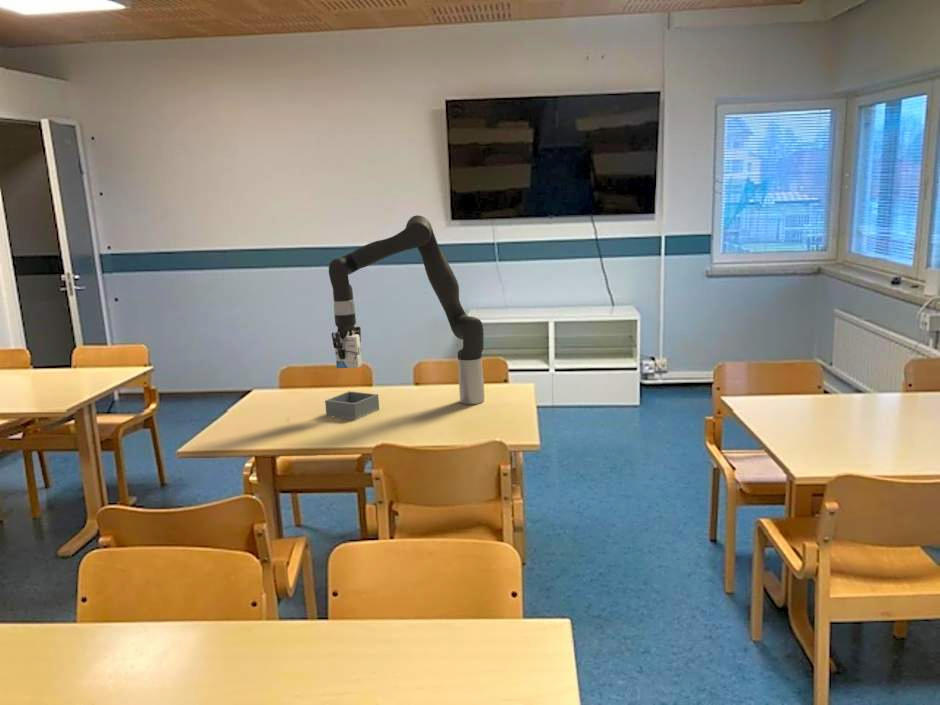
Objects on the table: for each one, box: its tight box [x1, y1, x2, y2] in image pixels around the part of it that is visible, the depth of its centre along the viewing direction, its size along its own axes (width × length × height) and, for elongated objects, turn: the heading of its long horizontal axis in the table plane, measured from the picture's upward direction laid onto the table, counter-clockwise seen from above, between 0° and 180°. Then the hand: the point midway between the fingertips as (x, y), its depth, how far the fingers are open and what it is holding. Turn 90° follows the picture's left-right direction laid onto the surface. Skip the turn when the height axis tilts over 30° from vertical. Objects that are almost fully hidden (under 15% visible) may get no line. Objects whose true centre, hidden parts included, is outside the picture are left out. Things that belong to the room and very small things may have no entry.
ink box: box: [334, 334, 363, 369], centre depth 270 cm, size 9×5×12 cm, turn 83°
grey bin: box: [324, 390, 380, 420], centre depth 275 cm, size 14×14×6 cm
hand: (348, 357), depth 271 cm, fingers closed on ink box, 6 cm apart
